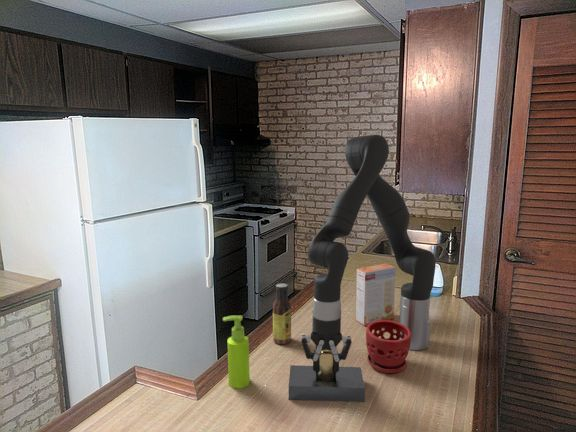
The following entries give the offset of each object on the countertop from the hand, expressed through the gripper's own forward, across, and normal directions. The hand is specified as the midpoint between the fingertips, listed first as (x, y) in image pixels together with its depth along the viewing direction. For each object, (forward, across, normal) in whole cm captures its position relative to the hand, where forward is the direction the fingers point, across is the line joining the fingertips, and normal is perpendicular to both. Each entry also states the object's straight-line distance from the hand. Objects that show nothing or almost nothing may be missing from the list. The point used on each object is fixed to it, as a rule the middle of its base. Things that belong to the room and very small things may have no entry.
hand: (325, 371), depth 113 cm
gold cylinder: (+2, 0, 0) cm, 2 cm away
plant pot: (+5, -19, -13) cm, 24 cm away
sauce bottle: (+6, +14, -27) cm, 31 cm away
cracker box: (+5, -20, -45) cm, 50 cm away
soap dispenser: (+6, +25, -2) cm, 26 cm away
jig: (+5, 0, 0) cm, 5 cm away
